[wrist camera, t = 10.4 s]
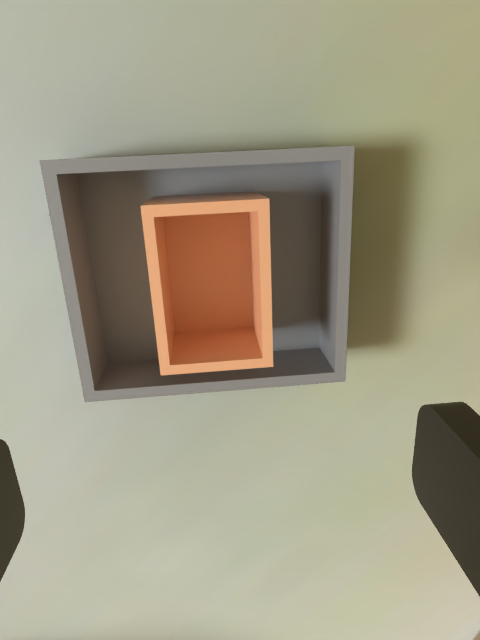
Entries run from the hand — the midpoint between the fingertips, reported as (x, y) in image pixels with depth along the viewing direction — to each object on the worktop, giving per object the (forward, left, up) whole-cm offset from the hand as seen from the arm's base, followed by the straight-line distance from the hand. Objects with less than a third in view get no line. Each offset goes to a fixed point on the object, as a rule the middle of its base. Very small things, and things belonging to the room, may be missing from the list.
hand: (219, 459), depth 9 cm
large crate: (0, 0, -18) cm, 18 cm away
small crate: (0, 0, -17) cm, 17 cm away
